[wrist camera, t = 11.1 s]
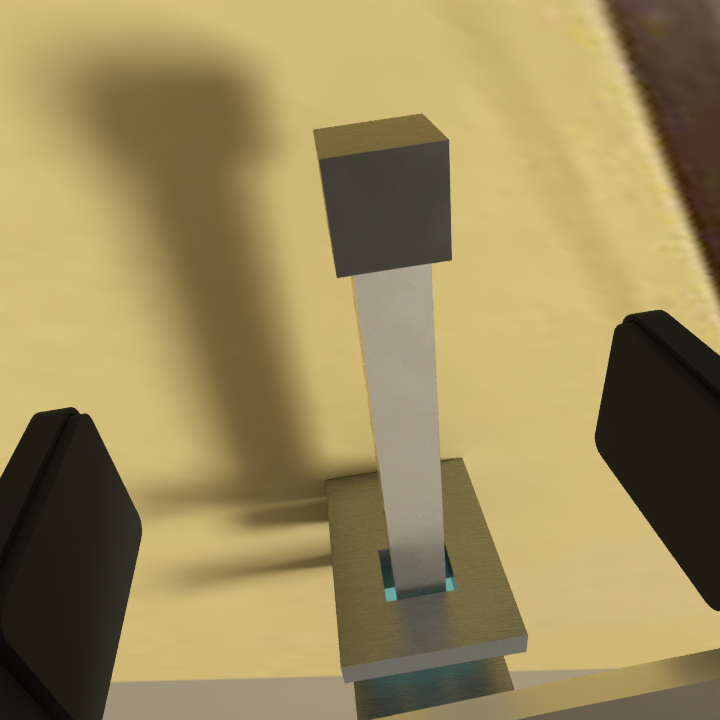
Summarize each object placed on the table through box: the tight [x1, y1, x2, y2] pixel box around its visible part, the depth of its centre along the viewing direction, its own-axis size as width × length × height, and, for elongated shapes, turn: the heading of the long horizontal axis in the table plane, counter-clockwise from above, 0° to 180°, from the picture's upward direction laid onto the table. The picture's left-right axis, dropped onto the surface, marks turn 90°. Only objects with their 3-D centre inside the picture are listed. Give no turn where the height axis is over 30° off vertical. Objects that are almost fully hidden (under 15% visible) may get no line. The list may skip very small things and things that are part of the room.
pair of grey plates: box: [325, 458, 528, 720], centre depth 46 cm, size 12×12×16 cm
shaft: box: [313, 114, 452, 600], centre depth 32 cm, size 31×5×5 cm, turn 7°
